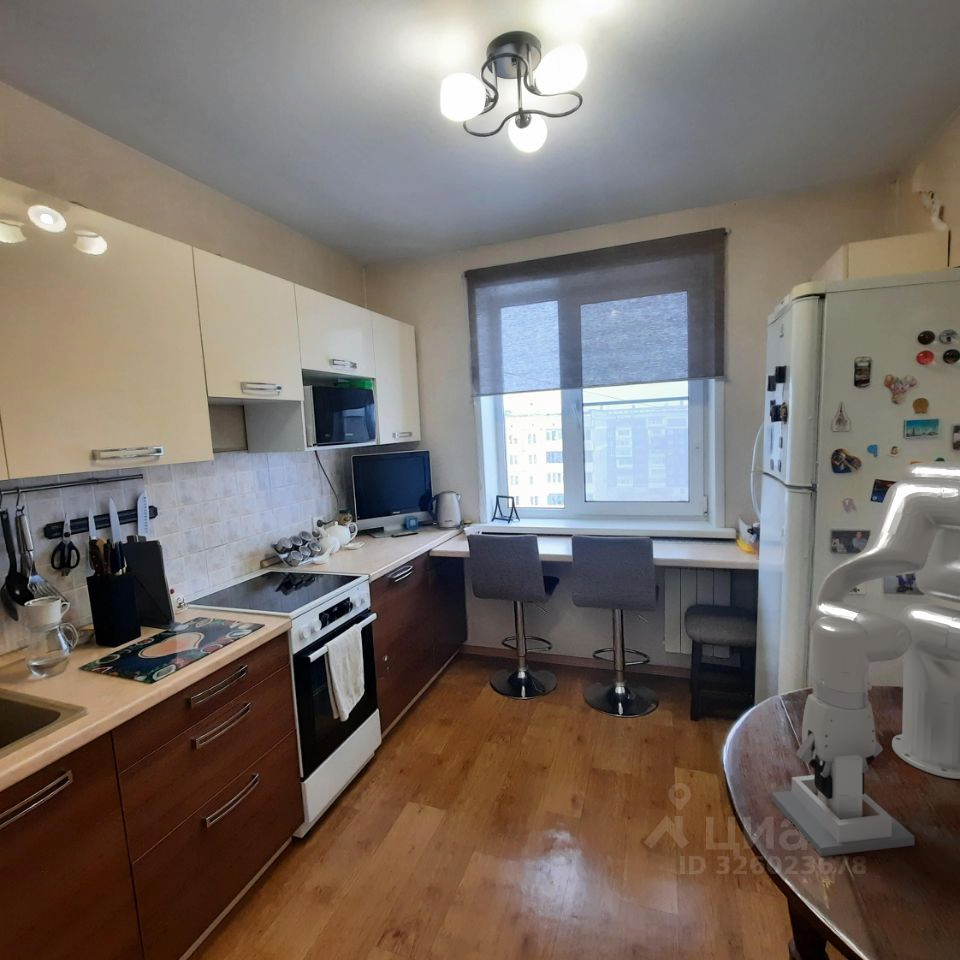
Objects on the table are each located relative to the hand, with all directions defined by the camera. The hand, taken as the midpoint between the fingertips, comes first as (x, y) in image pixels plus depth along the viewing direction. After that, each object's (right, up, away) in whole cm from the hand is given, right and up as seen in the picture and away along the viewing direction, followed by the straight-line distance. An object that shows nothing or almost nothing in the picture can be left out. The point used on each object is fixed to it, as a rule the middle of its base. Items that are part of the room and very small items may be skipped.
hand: (839, 790), depth 84 cm
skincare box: (0, -4, 0) cm, 4 cm away
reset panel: (0, -6, +1) cm, 6 cm away
